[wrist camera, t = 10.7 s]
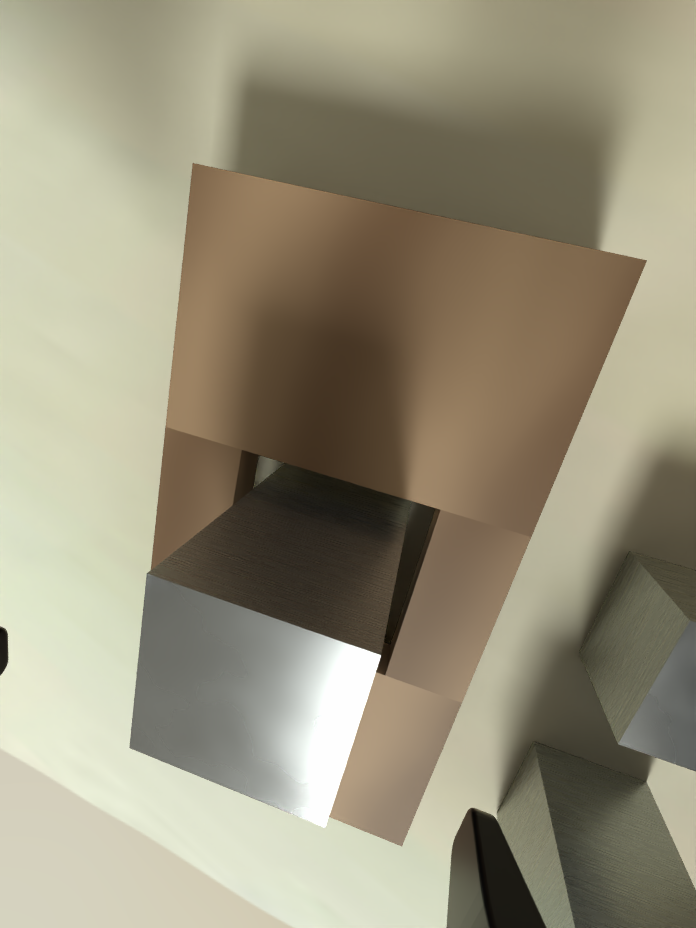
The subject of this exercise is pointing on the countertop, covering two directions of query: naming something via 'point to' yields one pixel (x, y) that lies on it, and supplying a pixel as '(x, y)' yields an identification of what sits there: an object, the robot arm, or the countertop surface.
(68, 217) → the countertop surface
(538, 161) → the countertop surface
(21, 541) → the countertop surface
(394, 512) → the long pin
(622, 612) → the grey metal cube
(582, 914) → the medium pin
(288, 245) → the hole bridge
